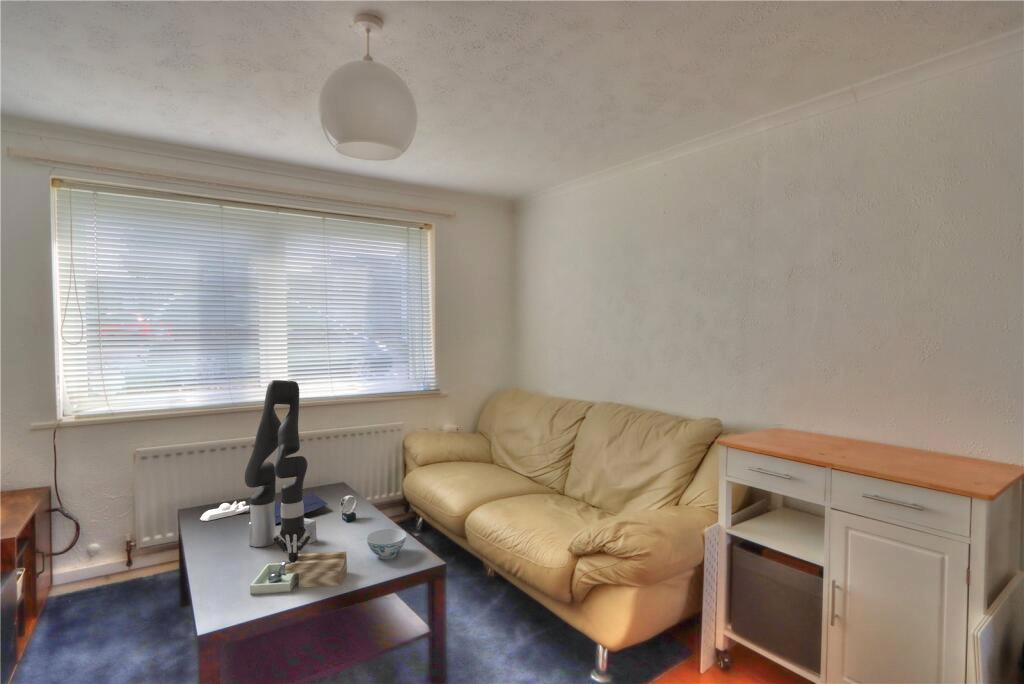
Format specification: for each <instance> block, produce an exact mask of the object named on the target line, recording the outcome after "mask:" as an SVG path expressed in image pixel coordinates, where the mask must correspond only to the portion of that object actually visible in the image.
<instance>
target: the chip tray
mask: <svg viewBox="0 0 1024 684" xmlns="http://www.w3.org/2000/svg"><path fill="white" fill-rule="evenodd" d="M281 564H282V562H279V563H276V562H275V563H267V564H266V565H265V566H264V567H263V569H261V571H260V573H259V574H258V575H257V576H256V577H255V578H254V579H253V581H252V582H251V584H250V585H249V594H250V595H262V594H263V595H265V594H278V593H279V594H280V593H291V592H292V590H293V588H294V586H295V585H296V584H297V582H299V573H291V574H287V575H286V576H284V575H282V581H280V582H279V583H269V582H268V574H269V573H271V572H273V571H279V568H280V566H281Z"/></svg>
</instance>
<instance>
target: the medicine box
mask: <svg viewBox="0 0 1024 684" xmlns="http://www.w3.org/2000/svg"><path fill="white" fill-rule="evenodd" d="M304 528H305V529H306V532H307V533H308V534H312V536H311V538H310V539H309V541H308V542H307V543H306V545H307V544H308V545H310V544H312V543H314V542H316V541H317V539H318V536H317V534H318V533H317V520H315V519H310V518H306V517H304ZM303 541H304V535H303V537H302V538H301V539H300V541H299V543H301V544H302V543H303Z"/></svg>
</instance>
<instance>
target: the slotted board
mask: <svg viewBox="0 0 1024 684" xmlns="http://www.w3.org/2000/svg"><path fill="white" fill-rule="evenodd" d="M347 560H348V555H347V551H331V552H314V553H313V552H312V553H298V559H297V561H296V562H295V563H290V564H286V566H285V574H291V573H299V579H298V587H299V588H309V587H310V588H312V587H327V586H341V585H342V583H343V581H344V579H345V577H346V574H347V573H348V565H347V564H348V561H347Z"/></svg>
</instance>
